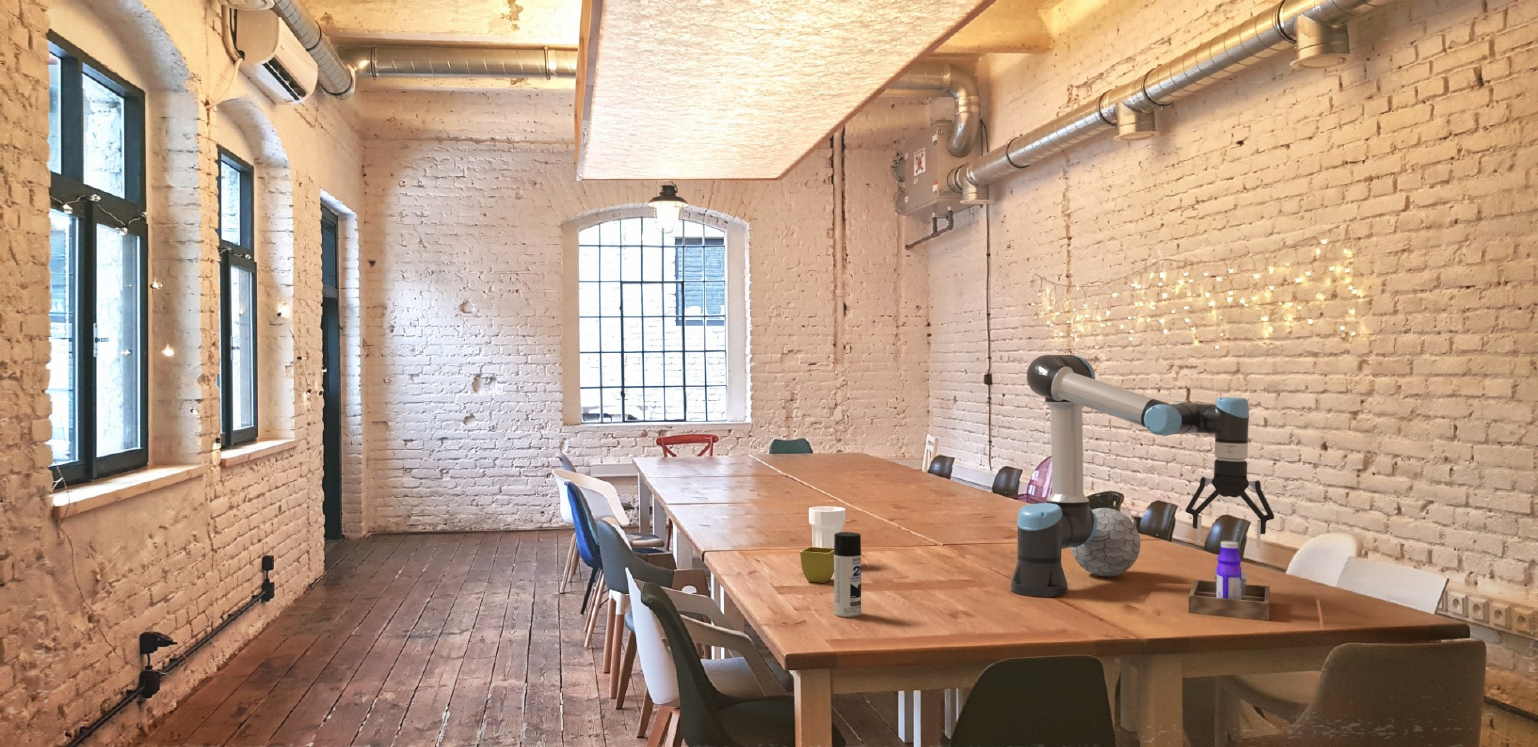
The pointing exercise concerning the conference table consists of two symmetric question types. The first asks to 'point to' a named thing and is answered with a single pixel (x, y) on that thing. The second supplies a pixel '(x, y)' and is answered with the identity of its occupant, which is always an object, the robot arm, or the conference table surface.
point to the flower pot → (817, 563)
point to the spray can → (847, 574)
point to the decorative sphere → (1109, 545)
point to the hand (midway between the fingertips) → (1228, 544)
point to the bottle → (1229, 571)
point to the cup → (826, 524)
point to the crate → (1230, 602)
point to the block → (1243, 583)
